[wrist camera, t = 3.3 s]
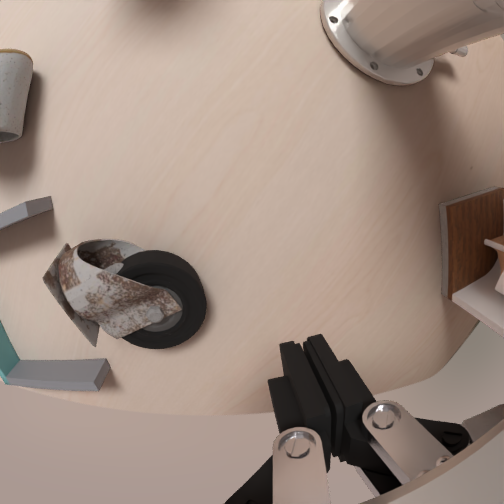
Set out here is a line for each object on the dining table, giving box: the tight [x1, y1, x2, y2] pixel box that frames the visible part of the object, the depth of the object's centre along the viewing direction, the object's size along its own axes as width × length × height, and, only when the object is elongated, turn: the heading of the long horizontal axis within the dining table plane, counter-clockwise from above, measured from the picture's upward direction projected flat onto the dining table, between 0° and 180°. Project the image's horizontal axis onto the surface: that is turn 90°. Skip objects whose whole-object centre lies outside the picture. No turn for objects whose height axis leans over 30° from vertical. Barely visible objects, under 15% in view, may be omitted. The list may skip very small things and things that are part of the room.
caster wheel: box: [43, 239, 206, 349], centre depth 21 cm, size 7×11×10 cm
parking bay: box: [0, 196, 110, 391], centre depth 21 cm, size 16×18×4 cm
